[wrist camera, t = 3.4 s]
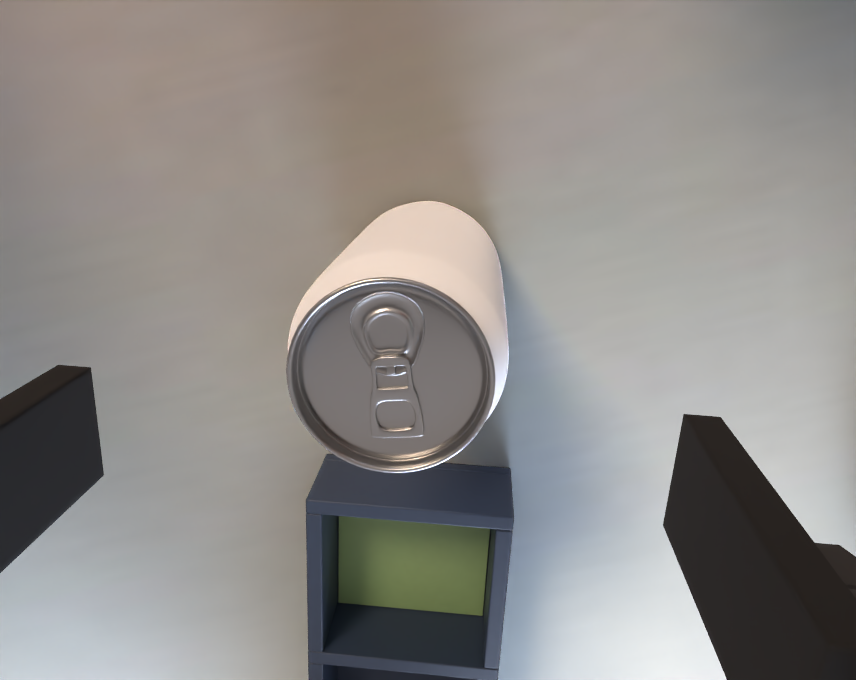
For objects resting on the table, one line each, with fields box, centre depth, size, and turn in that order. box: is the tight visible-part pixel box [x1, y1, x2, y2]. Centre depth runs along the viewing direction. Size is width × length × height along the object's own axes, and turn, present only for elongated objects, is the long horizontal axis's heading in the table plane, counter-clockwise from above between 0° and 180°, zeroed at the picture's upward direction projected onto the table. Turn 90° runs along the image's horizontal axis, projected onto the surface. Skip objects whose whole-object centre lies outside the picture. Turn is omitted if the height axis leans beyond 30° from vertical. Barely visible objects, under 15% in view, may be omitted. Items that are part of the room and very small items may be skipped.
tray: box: [306, 454, 514, 680], centre depth 33 cm, size 17×9×4 cm, turn 177°
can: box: [286, 201, 509, 473], centre depth 24 cm, size 6×6×12 cm
